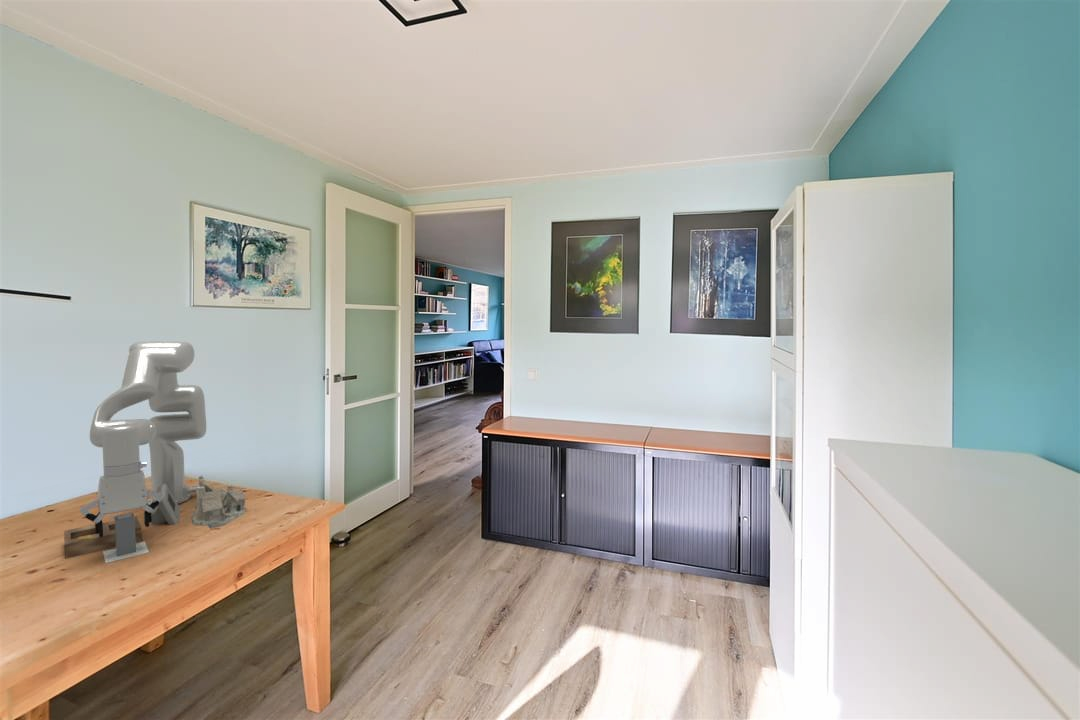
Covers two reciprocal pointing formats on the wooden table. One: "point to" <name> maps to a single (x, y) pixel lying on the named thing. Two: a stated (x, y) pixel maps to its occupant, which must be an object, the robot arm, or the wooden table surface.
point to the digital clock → (166, 508)
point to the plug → (125, 534)
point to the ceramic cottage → (217, 505)
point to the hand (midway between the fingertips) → (124, 530)
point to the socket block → (93, 538)
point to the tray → (112, 556)
